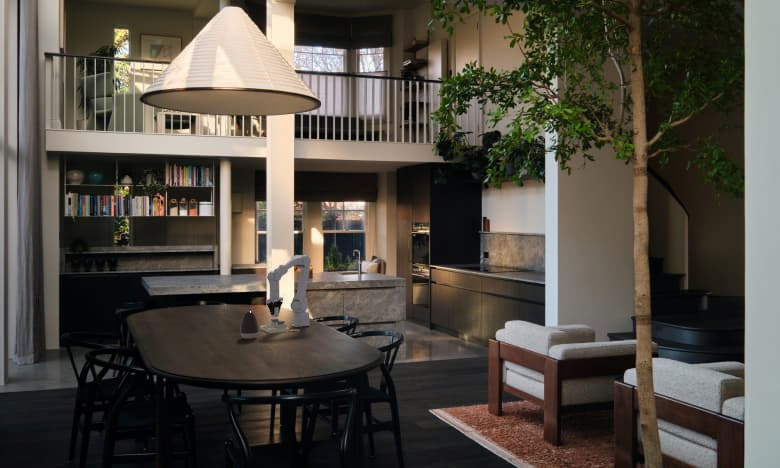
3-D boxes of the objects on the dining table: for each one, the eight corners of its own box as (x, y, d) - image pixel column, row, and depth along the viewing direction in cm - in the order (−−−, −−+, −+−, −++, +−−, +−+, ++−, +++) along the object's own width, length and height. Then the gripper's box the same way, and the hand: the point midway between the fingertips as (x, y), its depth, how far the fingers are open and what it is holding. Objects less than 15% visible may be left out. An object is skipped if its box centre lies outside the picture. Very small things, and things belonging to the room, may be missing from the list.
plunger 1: (276, 323, 431) (276, 318, 431) (278, 324, 428) (278, 319, 428) (271, 323, 430) (271, 318, 429) (273, 324, 426) (272, 319, 426)
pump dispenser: (261, 336, 400) (260, 310, 399) (255, 339, 389) (255, 312, 389) (243, 336, 401) (243, 310, 400) (237, 339, 390) (237, 312, 390)
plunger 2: (282, 325, 421) (282, 320, 421) (284, 326, 418) (284, 321, 418) (277, 326, 420) (276, 321, 420) (278, 326, 417) (278, 321, 417)
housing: (278, 327, 434) (278, 320, 433) (289, 331, 417) (289, 324, 417) (259, 329, 428) (259, 322, 428) (269, 333, 411) (269, 326, 411)
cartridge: (274, 315, 424) (274, 306, 424) (280, 316, 422) (280, 307, 422) (269, 316, 420) (269, 307, 420) (275, 317, 418) (275, 308, 418)
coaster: (297, 329, 423) (297, 329, 423) (301, 331, 417) (301, 330, 417) (287, 330, 420) (287, 329, 420) (291, 332, 414) (291, 331, 414)
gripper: (276, 290, 429) (276, 312, 429) (261, 292, 416) (261, 315, 417) (285, 290, 426) (286, 312, 426) (271, 292, 413) (271, 316, 413)
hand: (274, 314), depth 421 cm, fingers closed on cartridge, 4 cm apart
